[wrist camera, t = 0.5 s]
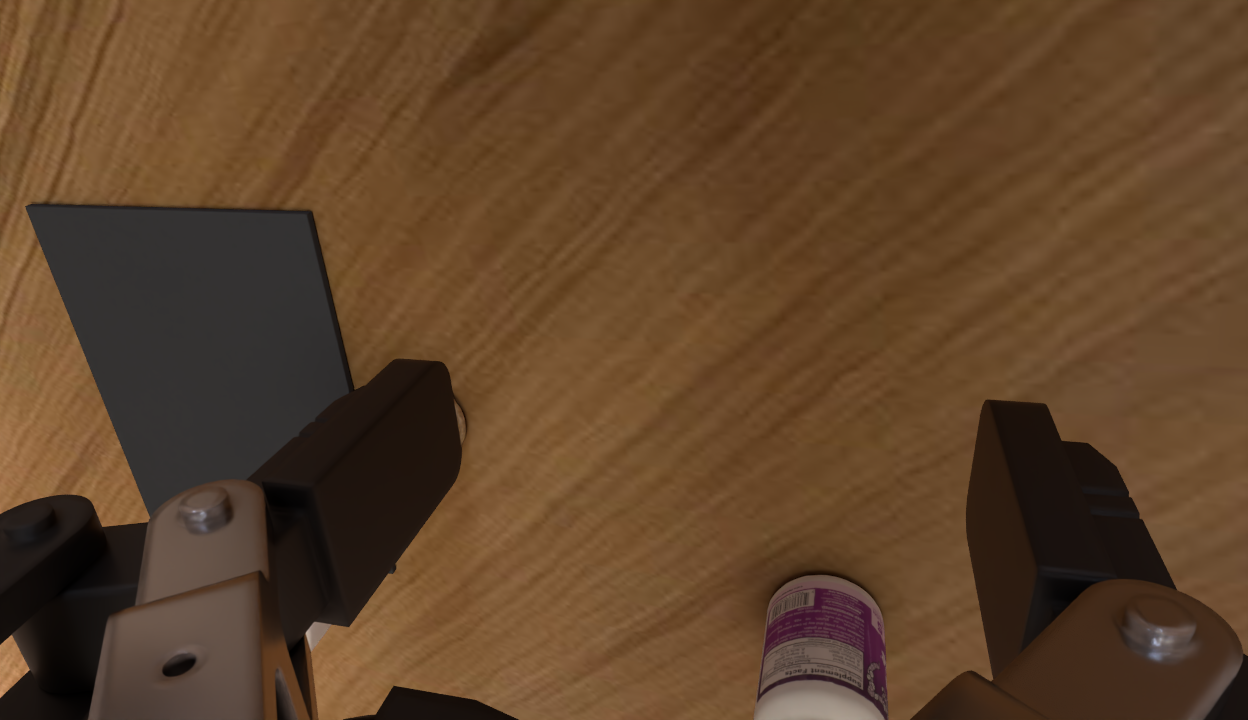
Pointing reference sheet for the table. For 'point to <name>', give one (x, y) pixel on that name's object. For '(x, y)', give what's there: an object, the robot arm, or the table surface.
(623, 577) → the table surface
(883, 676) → the pill bottle
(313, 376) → the mat
